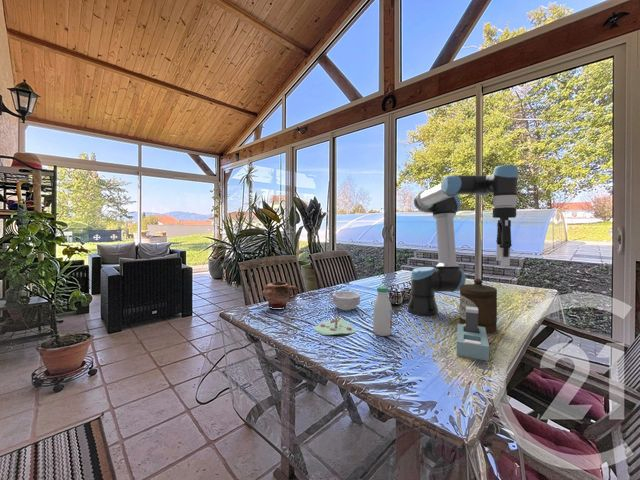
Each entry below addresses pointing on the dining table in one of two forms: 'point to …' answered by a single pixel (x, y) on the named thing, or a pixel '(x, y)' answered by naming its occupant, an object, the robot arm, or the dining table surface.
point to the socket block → (472, 343)
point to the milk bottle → (382, 313)
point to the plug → (471, 319)
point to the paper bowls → (346, 300)
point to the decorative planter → (278, 294)
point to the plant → (334, 327)
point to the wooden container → (479, 304)
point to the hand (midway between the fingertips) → (502, 263)
